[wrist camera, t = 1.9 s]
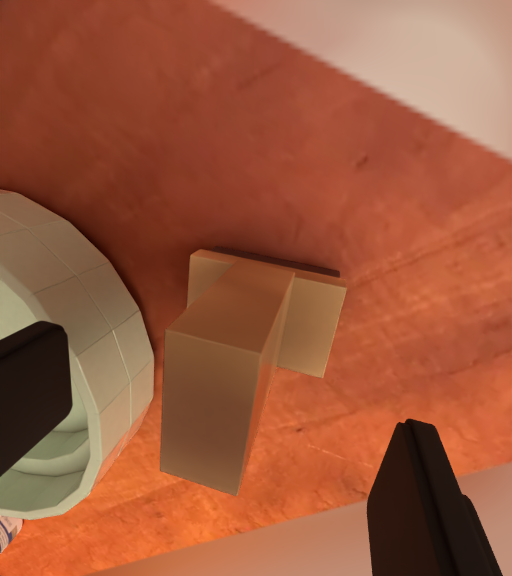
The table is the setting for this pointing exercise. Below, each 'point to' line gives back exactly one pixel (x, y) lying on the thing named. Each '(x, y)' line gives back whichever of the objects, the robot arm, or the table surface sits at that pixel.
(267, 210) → the table surface
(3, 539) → the pill bottle
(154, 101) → the table surface
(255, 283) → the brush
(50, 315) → the bowl
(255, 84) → the table surface
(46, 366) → the robot arm
